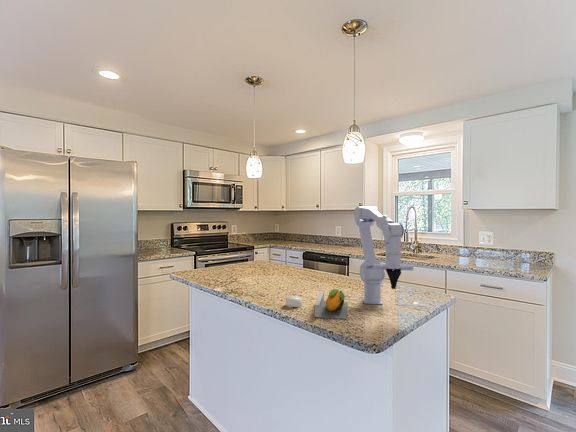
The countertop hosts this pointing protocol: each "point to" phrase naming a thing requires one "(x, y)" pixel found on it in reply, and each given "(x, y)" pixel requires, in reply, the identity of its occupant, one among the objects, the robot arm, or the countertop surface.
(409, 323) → the countertop surface
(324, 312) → the bracket
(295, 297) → the white glossy round part
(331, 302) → the toy fruit
